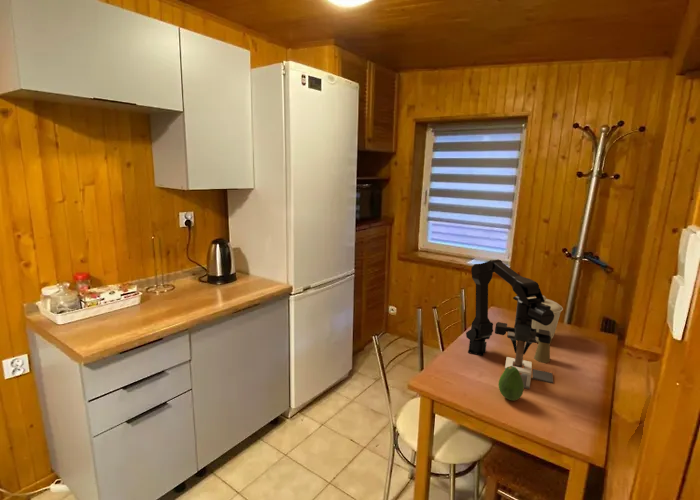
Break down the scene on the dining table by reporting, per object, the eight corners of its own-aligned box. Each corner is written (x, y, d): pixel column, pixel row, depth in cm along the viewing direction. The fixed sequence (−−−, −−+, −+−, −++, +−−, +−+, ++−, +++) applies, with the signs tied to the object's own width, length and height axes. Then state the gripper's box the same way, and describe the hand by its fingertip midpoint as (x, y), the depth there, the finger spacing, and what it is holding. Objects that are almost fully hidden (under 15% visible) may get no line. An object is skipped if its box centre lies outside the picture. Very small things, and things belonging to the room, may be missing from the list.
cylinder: (514, 366, 146) (517, 339, 144) (514, 363, 149) (517, 336, 146) (521, 368, 145) (525, 341, 143) (522, 364, 148) (525, 338, 145)
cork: (551, 363, 161) (555, 339, 158) (536, 362, 162) (539, 337, 160) (547, 356, 167) (550, 333, 164) (532, 355, 168) (535, 331, 165)
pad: (532, 379, 149) (532, 377, 149) (532, 370, 156) (532, 369, 156) (552, 383, 147) (553, 382, 146) (552, 374, 153) (552, 373, 153)
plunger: (512, 373, 147) (513, 368, 147) (513, 369, 150) (513, 364, 149) (522, 375, 146) (522, 370, 145) (522, 371, 149) (522, 366, 148)
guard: (503, 383, 147) (504, 367, 145) (504, 371, 154) (506, 356, 153) (529, 389, 143) (531, 373, 141) (529, 377, 151) (531, 361, 149)
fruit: (509, 407, 132) (513, 376, 129) (492, 395, 139) (495, 364, 136) (526, 402, 135) (530, 371, 132) (509, 390, 142) (512, 360, 139)
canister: (521, 326, 197) (525, 286, 192) (560, 335, 187) (567, 294, 182) (511, 339, 183) (516, 296, 178) (554, 350, 172) (560, 305, 168)
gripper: (495, 317, 139) (491, 357, 143) (553, 327, 132) (547, 369, 135) (498, 307, 149) (494, 344, 153) (552, 316, 141) (547, 355, 145)
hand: (519, 353), depth 146 cm, fingers closed on cylinder, 3 cm apart
